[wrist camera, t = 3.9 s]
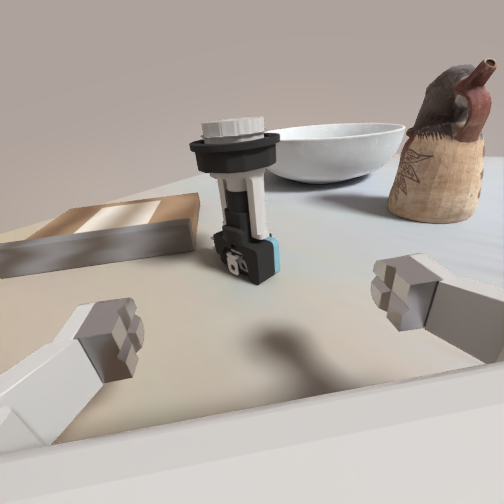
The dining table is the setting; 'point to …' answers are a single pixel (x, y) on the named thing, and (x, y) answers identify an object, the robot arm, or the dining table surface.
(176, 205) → the brown board with label
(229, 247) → the push button
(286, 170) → the serving bowl
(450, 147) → the figurine
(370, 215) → the dining table surface
